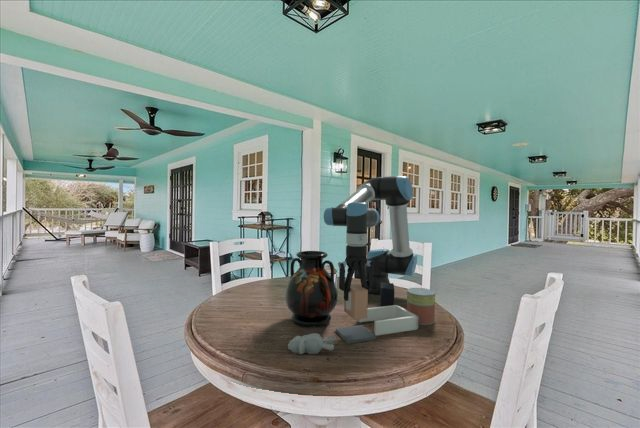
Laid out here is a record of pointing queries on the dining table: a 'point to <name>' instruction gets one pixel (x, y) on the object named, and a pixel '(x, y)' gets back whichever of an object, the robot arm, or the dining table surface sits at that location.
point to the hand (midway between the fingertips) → (355, 308)
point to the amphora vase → (311, 290)
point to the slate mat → (355, 334)
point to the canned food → (422, 304)
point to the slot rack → (399, 323)
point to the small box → (387, 294)
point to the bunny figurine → (310, 344)
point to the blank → (357, 302)
